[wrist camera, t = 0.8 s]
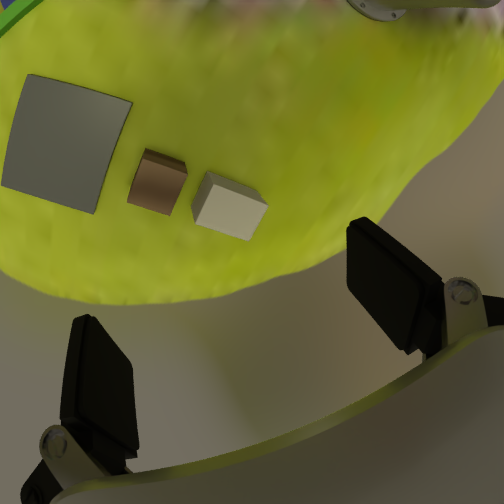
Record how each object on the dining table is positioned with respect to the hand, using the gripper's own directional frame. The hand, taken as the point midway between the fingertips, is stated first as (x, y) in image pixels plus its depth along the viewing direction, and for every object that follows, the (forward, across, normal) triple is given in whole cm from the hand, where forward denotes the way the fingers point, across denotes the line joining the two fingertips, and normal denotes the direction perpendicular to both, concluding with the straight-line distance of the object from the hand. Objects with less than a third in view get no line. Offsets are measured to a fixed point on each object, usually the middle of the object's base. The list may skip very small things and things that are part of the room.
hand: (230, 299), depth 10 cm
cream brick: (+27, -4, +8) cm, 28 cm away
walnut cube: (+27, +3, +2) cm, 27 cm away
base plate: (+27, +13, -6) cm, 31 cm away
